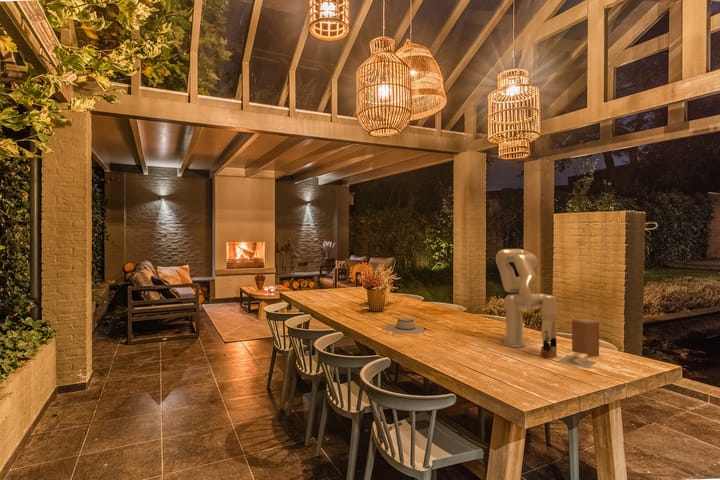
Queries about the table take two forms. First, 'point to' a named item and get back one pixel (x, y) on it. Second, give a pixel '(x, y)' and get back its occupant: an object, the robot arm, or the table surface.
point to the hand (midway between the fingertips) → (550, 348)
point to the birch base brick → (577, 358)
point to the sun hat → (404, 327)
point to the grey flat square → (586, 365)
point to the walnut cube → (549, 352)
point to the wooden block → (585, 336)
